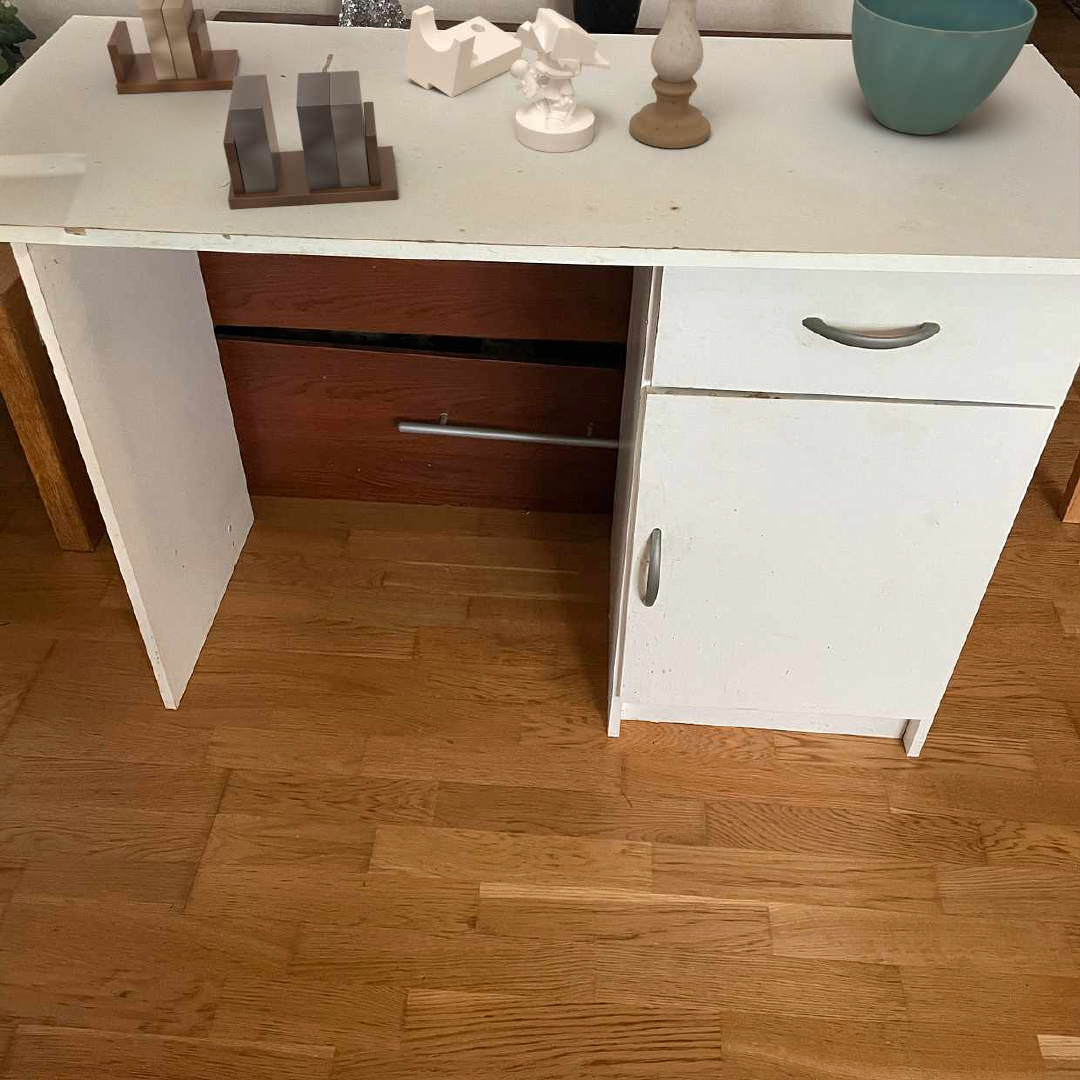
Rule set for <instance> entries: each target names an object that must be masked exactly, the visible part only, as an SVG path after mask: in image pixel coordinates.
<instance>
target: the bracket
mask: <svg viewBox="0 0 1080 1080" xmlns="http://www.w3.org/2000/svg"><path fill="white" fill-rule="evenodd" d="M411 12H412V13H411V20H410V28H409V36H408V37H409V38H408V45H407V53H406V60H405V61H406V62H405V69H404V76H405V77H407V78H409V79H410V80H412V81H413V82H415V83H416V84H417V85H419V86H421V87H422V88H423V89H425V90H430V89H432V88H434V87H435V88H436V89H438V90H439V91H441V92H442V93H444V94H445V95H447V96H448V97H450V98H453V97H455V96H458V95H460V94H462V93H464V92H466V91H469V90H470V89H472V88H475V87H477V86H479V85H480V84H481V85H482V84H483V83H485V82H487V81H489V80H491V79H493V78H495V77H497V76H499V75H501V74H503V73H505V72H508V71H511V67H512V65H513V63H514V62H515V61H517V60H520V59H522V56H523V51H524V47H520V46H521V43H522V41H521V40H519V39H518V38H514V37H515V36H512V35H510V34H509V33H508V32H506V31H504V30H502V29H501V28H499V27H498V26H496V25H494V24H493V23H491V22H490V21H488V20H487V19H485V18H483V17H482V16H480V15H478V16H476V17H474V18H471V19H468V20H466V21H463V22H461V23H459V24H457V25H455V26H452V27H450V28H447V29H445V30H443V31H439V30H438V27H437V25H436V21H435V9H434V8H433V7H432V6H430V5H429V4H427V5H425V6H422V7H419V8H417V9H415V10H412V11H411Z"/></svg>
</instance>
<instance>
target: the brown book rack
mask: <svg viewBox="0 0 1080 1080" xmlns="http://www.w3.org/2000/svg"><path fill="white" fill-rule="evenodd" d="M139 11H140V16H141V20H142V24H143V28H144V32H145V35H146V40H147V44H148V48H149V52H138V53H135V51H134V47H133V43H132V39H131V36H130V32H129V31H130V30H129V28H128V24H127V21H126V20H117V21H116V23H115V25H114V28H113V30H112V32H111V35H110V37H109V39H108V42H107V44H106V48H107V51H108V55H109V58H110V59H109V60H110V62H111V65H112V66H111V67H112V69H113V73H114V77H115V81H116V83H115V88H116V92H117V94H118V95H127V94H128V95H129V94H151V93H152V94H153V93H173V92H174V93H175V92H195V91H216V90H217V91H219V90H232V88H233V82H234V76H237V74H238V73H237V72H238V66H239V61H240V56H239V50H238V49H214V50H213V49H212V44H211V39H210V38H211V37H210V35H209V29H208V26H207V25H208V24H207V20H206V15H205V14H206V13H205V10H204V8H194V3H193V0H142V2H141V5H140V8H139Z"/></svg>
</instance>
